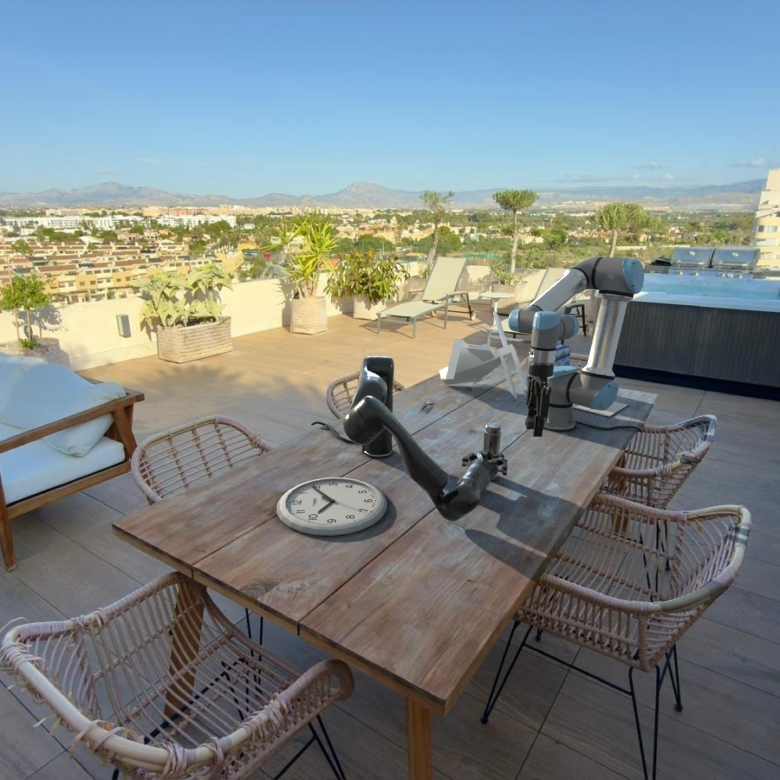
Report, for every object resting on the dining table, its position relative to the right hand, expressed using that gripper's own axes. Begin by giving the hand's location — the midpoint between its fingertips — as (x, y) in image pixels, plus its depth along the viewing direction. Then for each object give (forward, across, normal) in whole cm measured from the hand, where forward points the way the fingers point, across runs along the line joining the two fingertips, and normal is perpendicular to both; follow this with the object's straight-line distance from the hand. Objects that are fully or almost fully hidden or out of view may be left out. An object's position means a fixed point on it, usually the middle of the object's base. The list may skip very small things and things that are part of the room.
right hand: (533, 432), depth 167 cm
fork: (+11, -58, -25) cm, 64 cm away
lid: (-4, 0, 0) cm, 4 cm away
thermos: (+11, +8, -16) cm, 21 cm away
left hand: (+5, +6, -15) cm, 17 cm away
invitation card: (+10, -54, +51) cm, 75 cm away
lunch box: (+10, -82, +37) cm, 91 cm away
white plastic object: (+10, -76, +3) cm, 77 cm away
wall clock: (+11, +23, -64) cm, 69 cm away
